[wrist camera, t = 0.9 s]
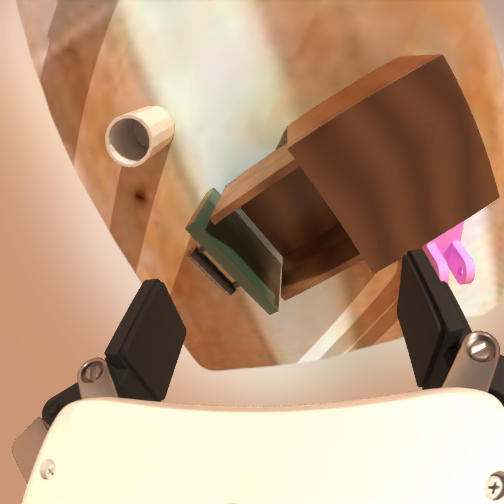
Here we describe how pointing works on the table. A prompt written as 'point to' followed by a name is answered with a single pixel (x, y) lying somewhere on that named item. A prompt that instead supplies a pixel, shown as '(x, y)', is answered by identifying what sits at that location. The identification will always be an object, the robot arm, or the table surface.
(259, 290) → the drawer
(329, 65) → the table surface
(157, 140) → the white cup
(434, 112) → the cabinet
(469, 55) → the table surface
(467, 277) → the bracket
